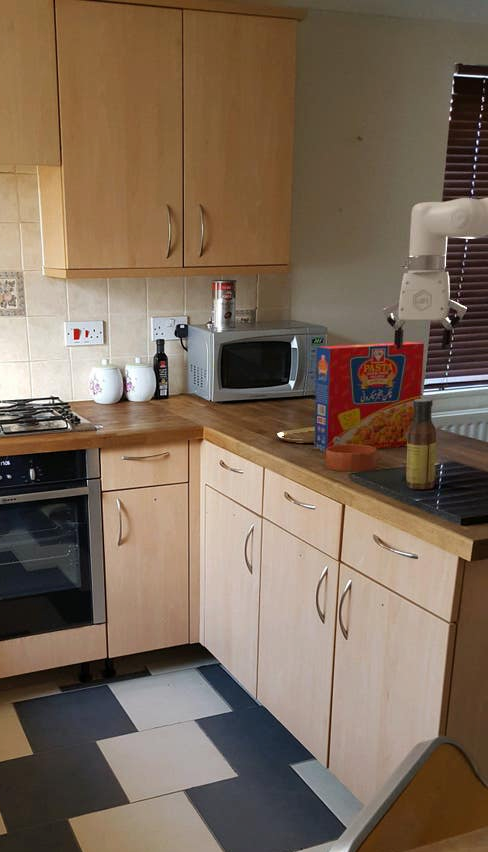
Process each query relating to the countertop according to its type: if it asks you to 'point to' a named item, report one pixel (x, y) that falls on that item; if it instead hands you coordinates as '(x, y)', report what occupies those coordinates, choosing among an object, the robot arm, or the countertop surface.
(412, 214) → the robot arm
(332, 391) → the pasta box
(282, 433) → the serving platter
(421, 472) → the sauce bottle
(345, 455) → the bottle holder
